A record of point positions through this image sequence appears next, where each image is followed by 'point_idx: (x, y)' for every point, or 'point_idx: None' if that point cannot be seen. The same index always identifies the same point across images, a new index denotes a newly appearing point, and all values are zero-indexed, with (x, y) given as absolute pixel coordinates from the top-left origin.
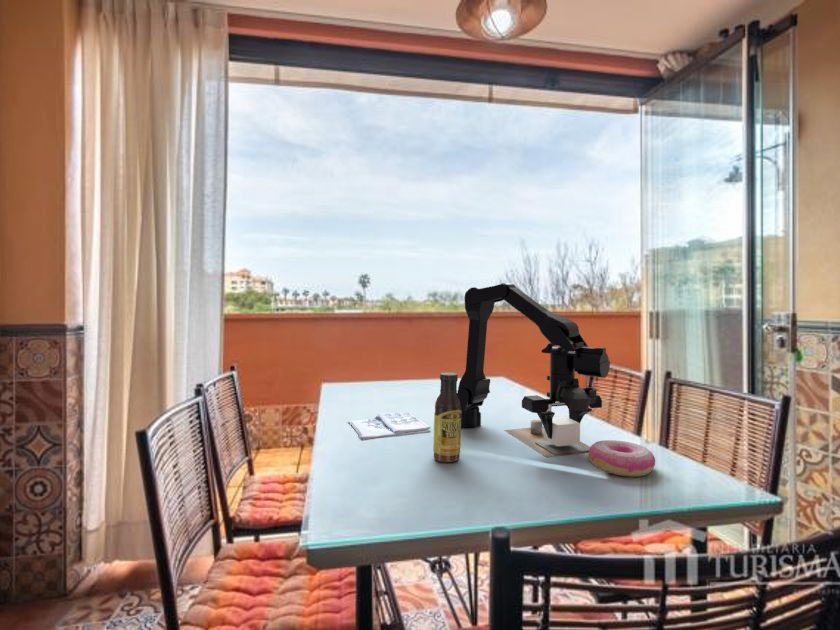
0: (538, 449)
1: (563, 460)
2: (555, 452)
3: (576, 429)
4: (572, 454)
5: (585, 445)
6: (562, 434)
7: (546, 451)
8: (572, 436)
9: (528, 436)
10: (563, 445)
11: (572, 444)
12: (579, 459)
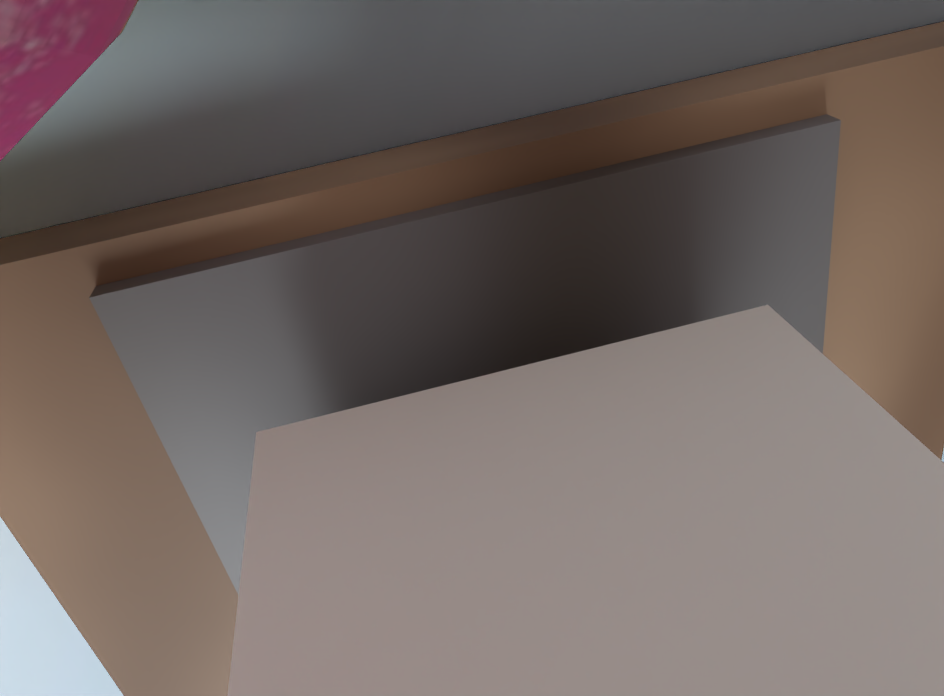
0: (901, 394)
1: (660, 60)
2: (782, 211)
3: (356, 690)
4: (488, 150)
5: (88, 572)
6: (777, 487)
7: (843, 313)
8: (462, 506)
9: None
10: (635, 342)
11: (432, 391)
12: (354, 90)
